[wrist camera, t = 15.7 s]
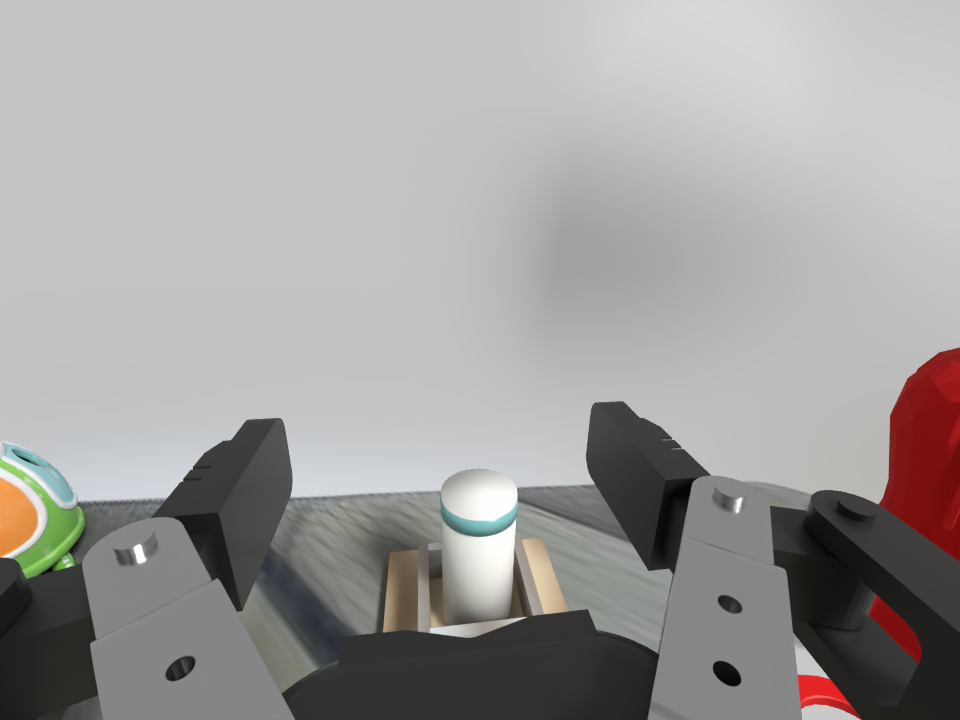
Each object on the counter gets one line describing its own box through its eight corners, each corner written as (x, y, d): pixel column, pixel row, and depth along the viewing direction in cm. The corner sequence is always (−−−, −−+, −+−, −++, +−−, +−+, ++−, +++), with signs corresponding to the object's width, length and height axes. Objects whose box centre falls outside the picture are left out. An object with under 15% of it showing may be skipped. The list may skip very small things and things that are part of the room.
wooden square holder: (376, 734, 27) (370, 689, 26) (390, 560, 40) (387, 525, 39) (596, 703, 29) (602, 659, 27) (541, 546, 42) (543, 511, 40)
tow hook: (740, 744, 27) (958, 928, 20) (777, 572, 23) (1063, 723, 16) (794, 662, 32) (985, 786, 25) (832, 509, 28) (1071, 603, 21)
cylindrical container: (443, 647, 31) (441, 518, 27) (441, 586, 36) (439, 470, 32) (517, 640, 32) (525, 513, 28) (505, 581, 37) (510, 466, 33)
